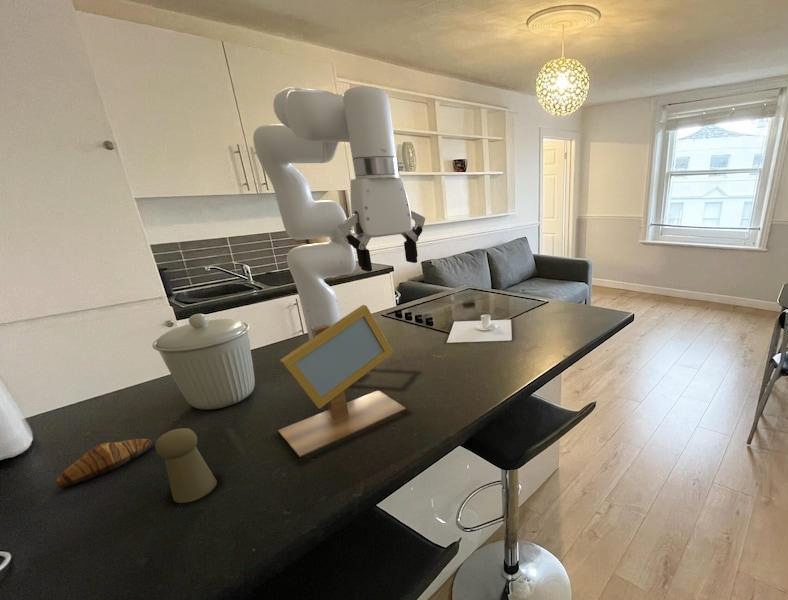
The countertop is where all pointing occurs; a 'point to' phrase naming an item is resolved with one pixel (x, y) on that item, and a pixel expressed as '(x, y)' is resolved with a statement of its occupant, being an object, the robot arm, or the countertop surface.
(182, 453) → the cork
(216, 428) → the countertop surface
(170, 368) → the canister
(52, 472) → the countertop surface
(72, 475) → the croissant
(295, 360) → the picture frame
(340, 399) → the display stand
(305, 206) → the robot arm
